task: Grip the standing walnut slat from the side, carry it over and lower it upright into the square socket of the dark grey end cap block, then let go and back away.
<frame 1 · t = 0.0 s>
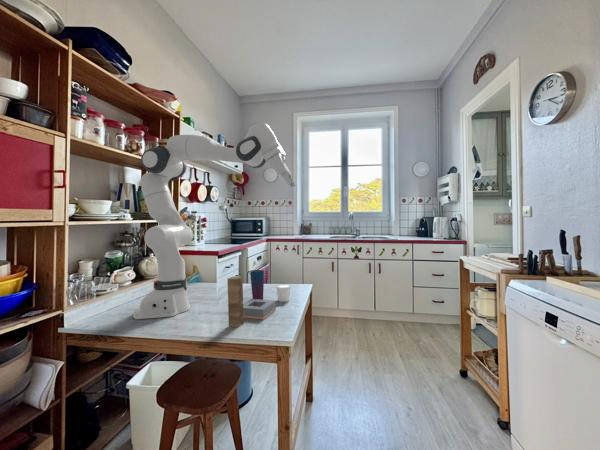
hand: (291, 184, 112), 54 cm above the table, tool tilted 30°, fingers open, 8 cm apart
shot glass: (283, 300, 131), on the table
end cap: (257, 313, 113), on the table
slat: (236, 324, 101), on the table
cup: (258, 301, 130), on the table
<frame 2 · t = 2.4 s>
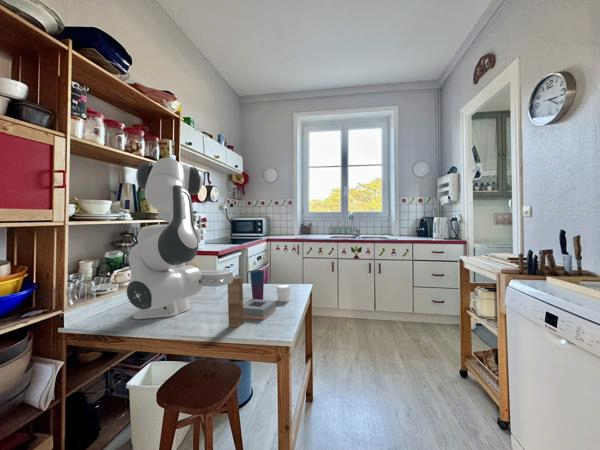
hand: (215, 272, 89), 22 cm above the table, tool horizontal, fingers open, 8 cm apart
nothing on the table moved.
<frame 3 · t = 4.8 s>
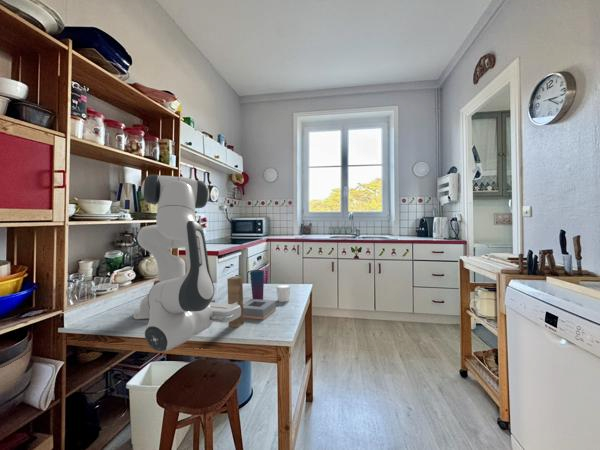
hand: (224, 303, 94), 10 cm above the table, tool horizontal, fingers open, 8 cm apart
nothing on the table moved.
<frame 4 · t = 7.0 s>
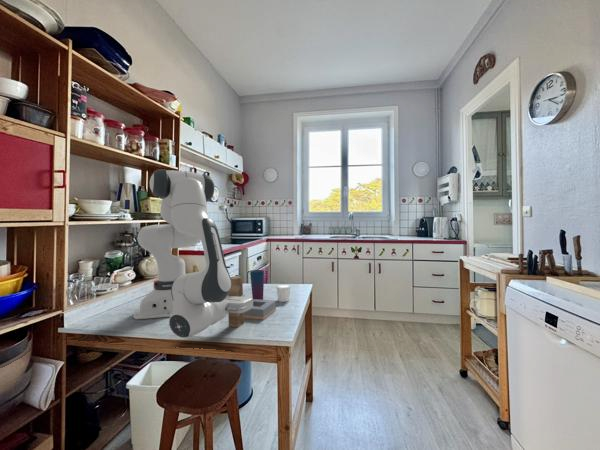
hand: (236, 296, 102), 11 cm above the table, tool horizontal, fingers closed on slat, 4 cm apart
slat: (236, 324, 101), on the table, touching gripper
everything else where it was.
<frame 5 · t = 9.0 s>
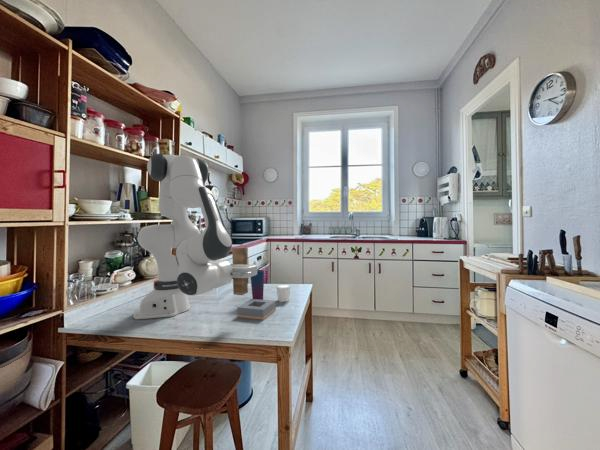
hand: (241, 266, 104), 22 cm above the table, tool horizontal, fingers closed on slat, 4 cm apart
slat: (240, 293, 104), point 11 cm above the table, touching gripper
everything else where it was.
when the fingers open (12 cm above the table, at t = 11.5 s): slat stays where it is, resting on end cap.
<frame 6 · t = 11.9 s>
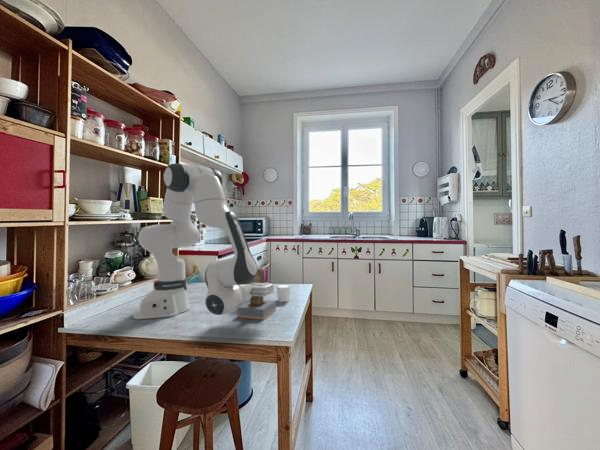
hand: (257, 283, 114), 12 cm above the table, tool horizontal, fingers open, 8 cm apart
slat: (257, 310, 113), point 1 cm above the table, touching end cap
everything else where it was.
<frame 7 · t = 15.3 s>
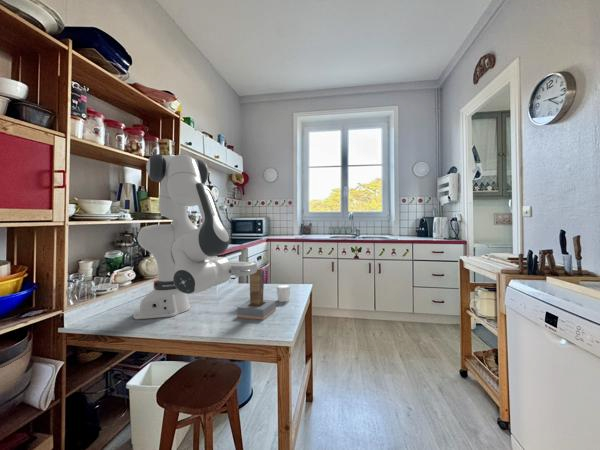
hand: (240, 263, 101), 23 cm above the table, tool horizontal, fingers open, 8 cm apart
nothing on the table moved.
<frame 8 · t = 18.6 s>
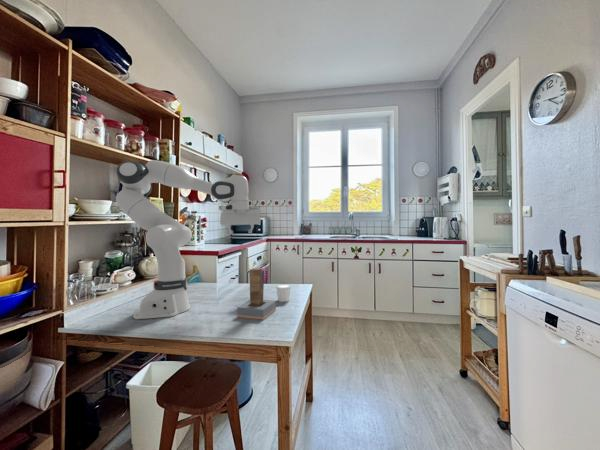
hand: (241, 233, 135), 33 cm above the table, tool pointing down, fingers open, 8 cm apart
nothing on the table moved.
at the end: slat 0.1 cm off-centre on the end cap, point 1.0 cm above the end cap's base; slat tilted 0°; the gripper is holding nothing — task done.
